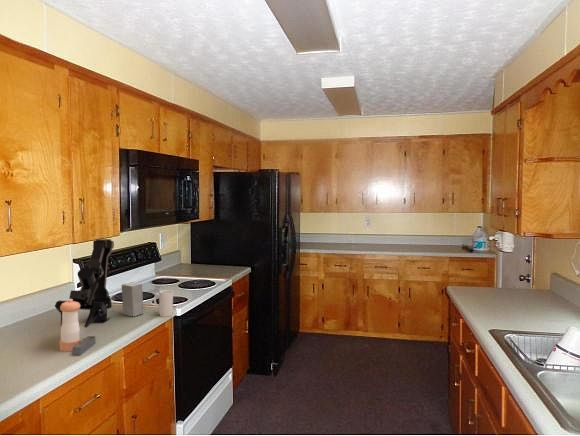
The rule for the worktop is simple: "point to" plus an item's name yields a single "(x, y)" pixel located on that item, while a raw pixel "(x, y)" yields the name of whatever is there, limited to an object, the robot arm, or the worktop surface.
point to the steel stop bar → (83, 345)
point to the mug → (164, 303)
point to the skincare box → (132, 299)
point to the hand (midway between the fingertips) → (73, 326)
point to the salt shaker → (69, 325)
